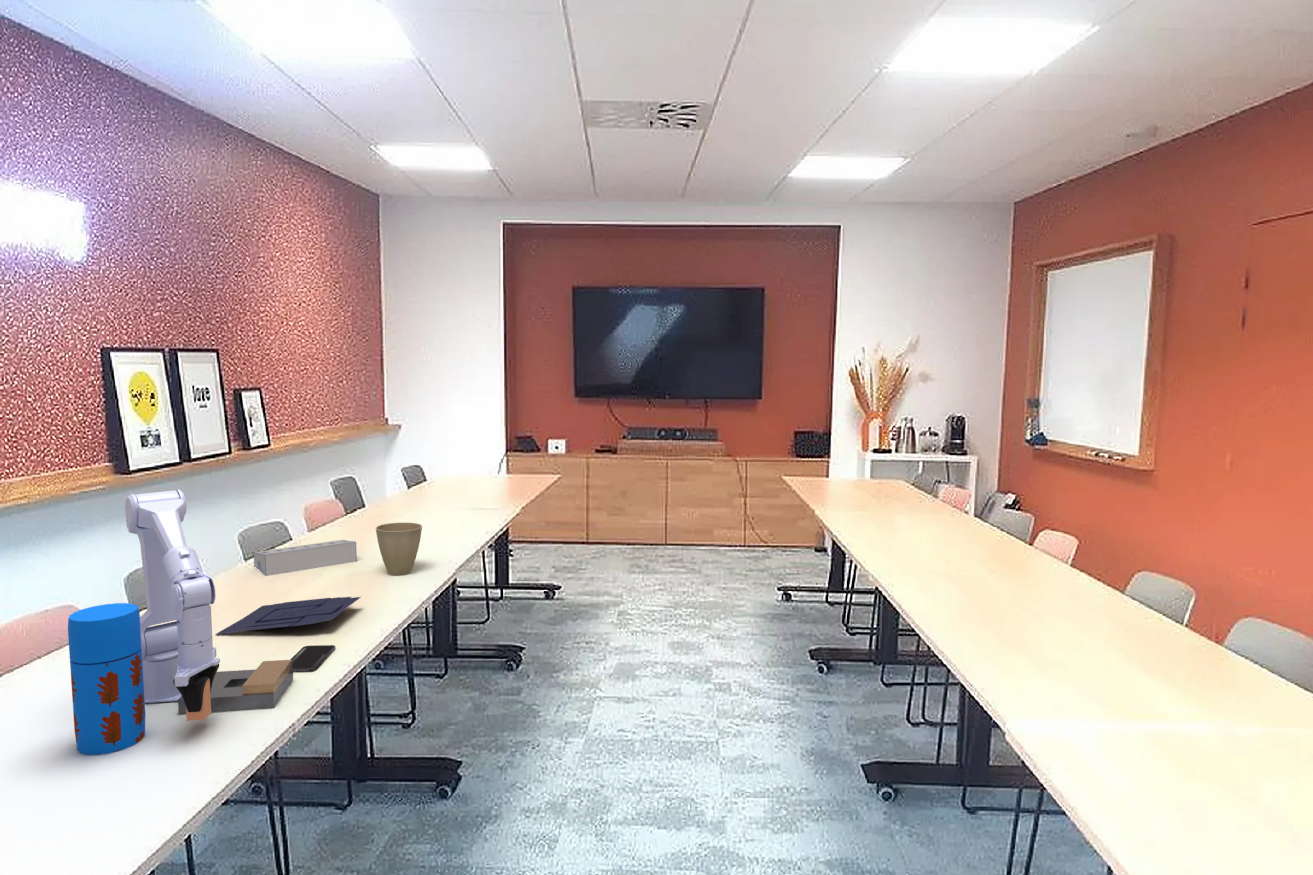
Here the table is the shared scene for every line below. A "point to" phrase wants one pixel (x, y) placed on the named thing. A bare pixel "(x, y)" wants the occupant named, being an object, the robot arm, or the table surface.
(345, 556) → the warehouse
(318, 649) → the phone
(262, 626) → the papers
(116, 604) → the thermos
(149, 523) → the robot arm
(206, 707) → the light brown rectangular block
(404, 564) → the plant pot
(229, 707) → the bracket plate
